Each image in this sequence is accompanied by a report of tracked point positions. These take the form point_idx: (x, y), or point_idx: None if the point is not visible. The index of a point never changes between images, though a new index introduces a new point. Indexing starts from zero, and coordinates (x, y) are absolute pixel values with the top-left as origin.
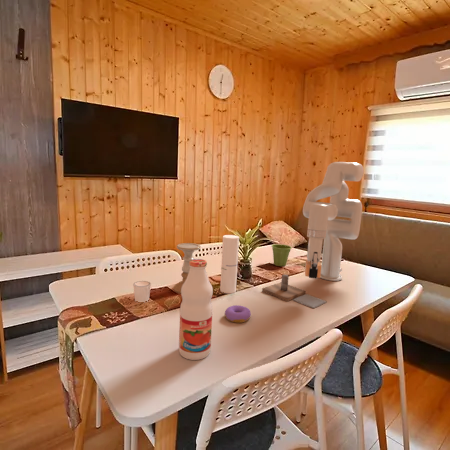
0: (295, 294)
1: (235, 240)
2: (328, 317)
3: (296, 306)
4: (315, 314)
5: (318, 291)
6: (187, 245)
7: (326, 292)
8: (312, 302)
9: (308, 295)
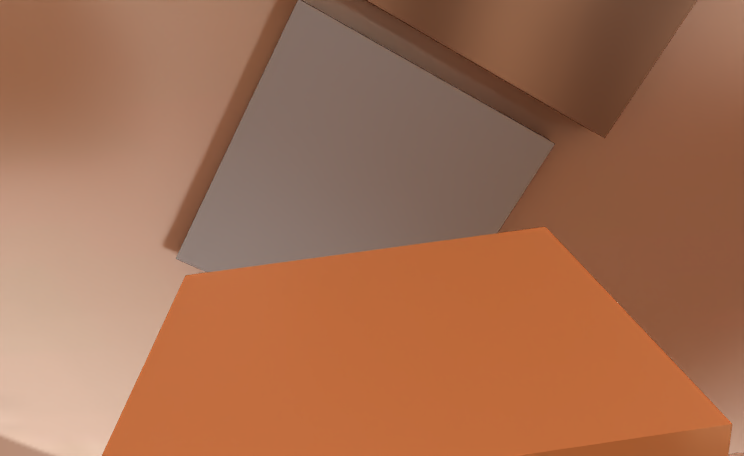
0: (417, 13)
1: None
2: (45, 390)
3: (131, 62)
4: (37, 279)
5: (723, 259)
6: None
7: (714, 337)
8: (307, 234)
9: (514, 172)
